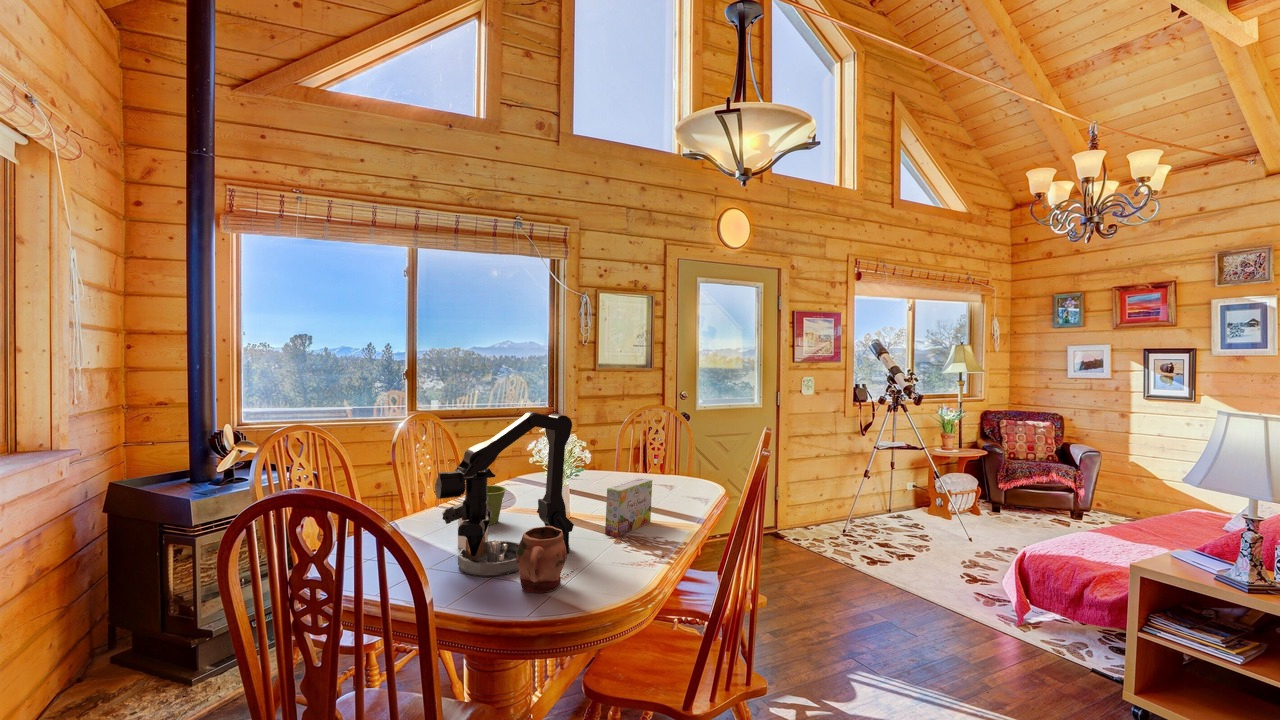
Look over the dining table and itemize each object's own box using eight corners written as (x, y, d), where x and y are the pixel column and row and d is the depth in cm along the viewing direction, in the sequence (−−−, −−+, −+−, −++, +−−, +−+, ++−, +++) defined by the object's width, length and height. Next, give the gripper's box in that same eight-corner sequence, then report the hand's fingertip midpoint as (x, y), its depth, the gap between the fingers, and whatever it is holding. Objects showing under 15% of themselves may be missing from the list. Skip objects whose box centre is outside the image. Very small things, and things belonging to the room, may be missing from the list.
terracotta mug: (562, 606, 135) (563, 545, 135) (508, 606, 135) (509, 545, 134) (568, 574, 155) (570, 521, 155) (521, 573, 154) (523, 520, 154)
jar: (462, 552, 170) (462, 510, 169) (453, 544, 176) (454, 504, 176) (492, 547, 174) (493, 506, 174) (483, 539, 181) (484, 500, 181)
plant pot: (479, 529, 191) (480, 495, 191) (463, 521, 200) (463, 488, 200) (512, 523, 199) (513, 490, 199) (494, 515, 208) (495, 483, 208)
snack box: (619, 538, 186) (620, 490, 186) (604, 535, 189) (605, 487, 189) (651, 522, 205) (652, 478, 204) (637, 519, 207) (638, 476, 207)
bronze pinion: (485, 552, 163) (485, 534, 163) (482, 559, 158) (483, 540, 158) (467, 553, 162) (467, 534, 162) (463, 559, 157) (464, 540, 157)
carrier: (529, 552, 170) (530, 532, 170) (524, 576, 153) (525, 553, 152) (465, 553, 168) (465, 532, 168) (452, 577, 150) (453, 554, 150)
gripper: (452, 486, 168) (451, 541, 168) (437, 503, 149) (436, 565, 150) (492, 486, 169) (491, 541, 169) (482, 503, 151) (481, 564, 151)
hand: (475, 552), depth 160 cm, fingers closed on bronze pinion, 5 cm apart
